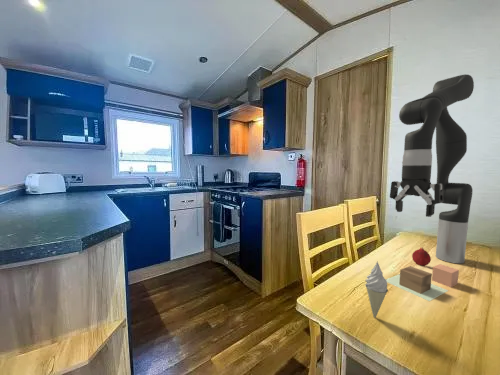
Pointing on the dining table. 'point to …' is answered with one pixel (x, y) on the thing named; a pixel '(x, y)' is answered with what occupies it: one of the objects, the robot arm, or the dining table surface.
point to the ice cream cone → (376, 288)
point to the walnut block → (415, 279)
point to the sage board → (427, 295)
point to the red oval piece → (421, 257)
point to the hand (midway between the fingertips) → (413, 213)
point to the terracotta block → (445, 275)
